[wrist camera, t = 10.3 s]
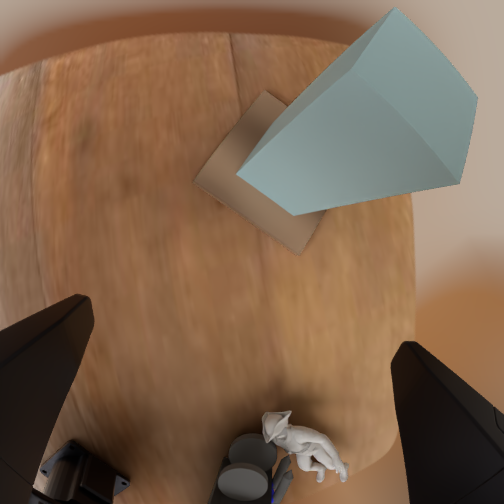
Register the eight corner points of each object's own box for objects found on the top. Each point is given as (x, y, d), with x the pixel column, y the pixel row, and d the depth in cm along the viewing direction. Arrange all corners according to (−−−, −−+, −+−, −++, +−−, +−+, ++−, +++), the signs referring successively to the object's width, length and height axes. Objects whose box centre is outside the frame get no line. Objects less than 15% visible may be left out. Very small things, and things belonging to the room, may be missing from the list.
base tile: (291, 254, 23) (299, 255, 22) (191, 185, 21) (193, 180, 19) (344, 165, 24) (354, 161, 23) (258, 98, 22) (264, 89, 21)
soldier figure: (291, 481, 24) (217, 464, 18) (297, 441, 28) (229, 409, 22) (363, 481, 21) (314, 471, 15) (367, 436, 24) (321, 403, 18)
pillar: (293, 215, 21) (459, 183, 8) (235, 174, 20) (351, 68, 7) (325, 163, 22) (477, 97, 9) (273, 122, 21) (395, 6, 7)
